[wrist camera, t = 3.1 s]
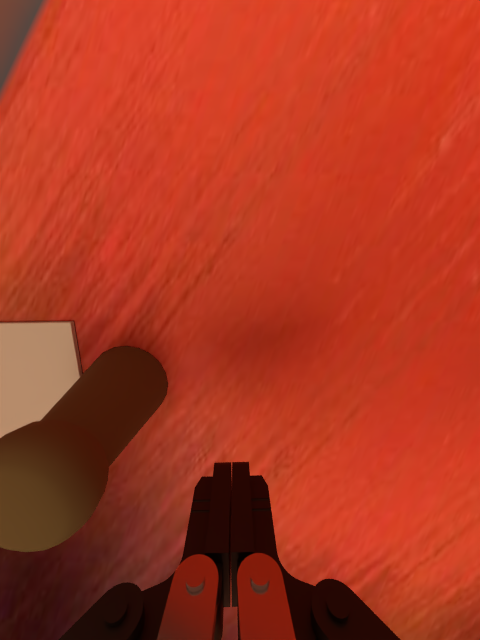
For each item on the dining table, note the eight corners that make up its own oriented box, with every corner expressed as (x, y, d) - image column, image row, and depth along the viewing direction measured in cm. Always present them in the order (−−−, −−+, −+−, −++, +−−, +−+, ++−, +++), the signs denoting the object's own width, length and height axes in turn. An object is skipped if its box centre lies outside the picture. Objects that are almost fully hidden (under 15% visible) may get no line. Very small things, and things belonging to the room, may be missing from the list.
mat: (73, 321, 19) (70, 322, 19) (93, 438, 22) (90, 442, 21) (-42, 322, 19) (-48, 324, 19) (-10, 440, 22) (-14, 443, 21)
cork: (140, 430, 21) (43, 602, 11) (75, 389, 21) (-101, 532, 10) (183, 376, 20) (120, 508, 10) (116, 330, 19) (-35, 421, 9)
